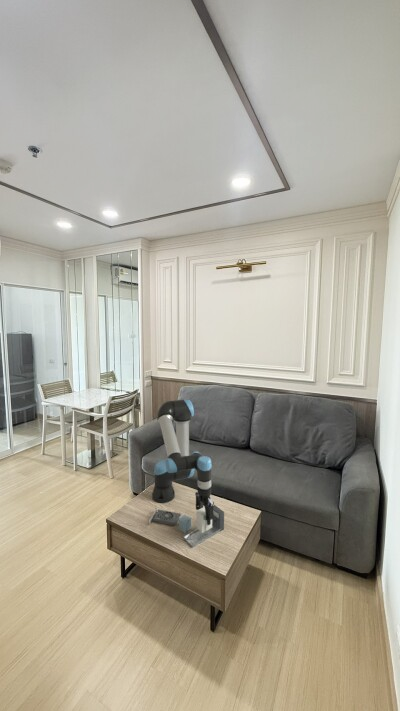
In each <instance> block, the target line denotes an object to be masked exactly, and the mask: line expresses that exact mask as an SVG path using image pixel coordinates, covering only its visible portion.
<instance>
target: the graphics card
mask: <svg viewBox="0 0 400 711" xmlns="http://www.w3.org/2000/svg"><path fill="white" fill-rule="evenodd" d="M154 509H155V510H154V512H153V514H152V515H151V517H150V518H149V521H148V525H149V526H150V524H152V523H154V524H158V523H159V524H164V525H169V526H172V525H173V526H177V524H178V523H179V519H180V518H181V517H182V516H181V513H179V512H173V511H168V510H163V509H158V508H157V507H155V508H154Z"/></svg>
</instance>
